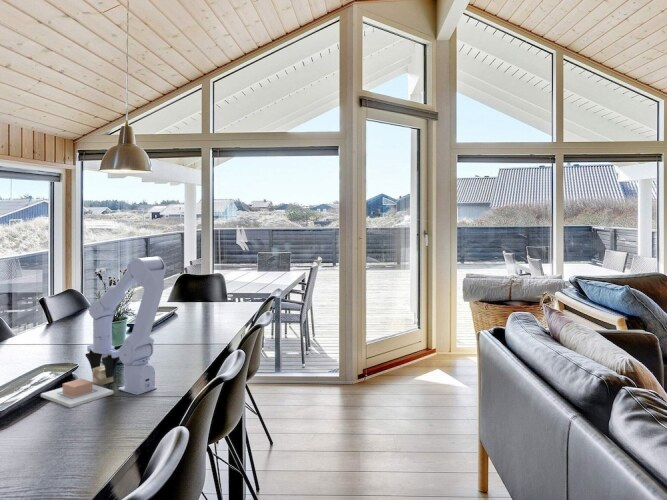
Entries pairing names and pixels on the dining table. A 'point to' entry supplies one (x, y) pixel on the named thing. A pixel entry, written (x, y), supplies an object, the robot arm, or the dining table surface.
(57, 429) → the dining table surface
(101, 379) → the maple block
